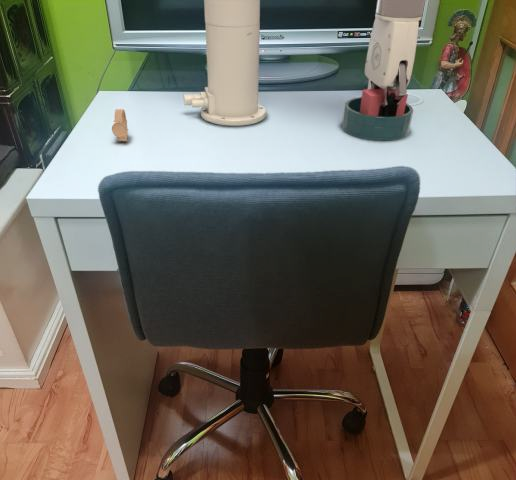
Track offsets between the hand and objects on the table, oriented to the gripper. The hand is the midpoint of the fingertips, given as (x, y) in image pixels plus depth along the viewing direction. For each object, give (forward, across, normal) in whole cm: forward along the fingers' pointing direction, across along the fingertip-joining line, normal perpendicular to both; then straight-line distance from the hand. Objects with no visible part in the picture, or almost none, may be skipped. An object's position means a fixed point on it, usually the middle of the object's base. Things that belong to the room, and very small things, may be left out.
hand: (379, 123), depth 95 cm
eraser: (0, 0, 0) cm, 0 cm away
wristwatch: (+1, -1, -47) cm, 47 cm away
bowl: (+1, 0, -1) cm, 1 cm away
